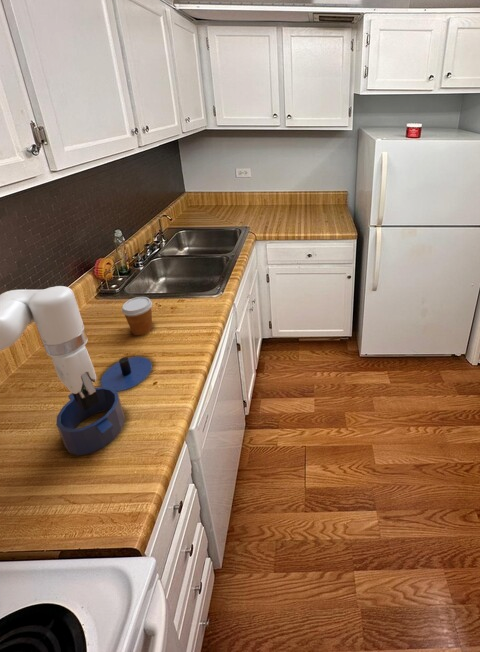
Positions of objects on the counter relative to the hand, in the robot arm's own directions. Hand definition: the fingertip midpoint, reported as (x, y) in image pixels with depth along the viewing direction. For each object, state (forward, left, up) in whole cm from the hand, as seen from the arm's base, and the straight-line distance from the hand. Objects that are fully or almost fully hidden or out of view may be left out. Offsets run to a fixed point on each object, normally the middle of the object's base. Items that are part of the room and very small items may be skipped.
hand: (86, 401), depth 80 cm
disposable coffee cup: (+28, +28, -11) cm, 41 cm away
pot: (0, 0, -11) cm, 11 cm away
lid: (+14, +12, -10) cm, 21 cm away
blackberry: (0, 0, 0) cm, 0 cm away
